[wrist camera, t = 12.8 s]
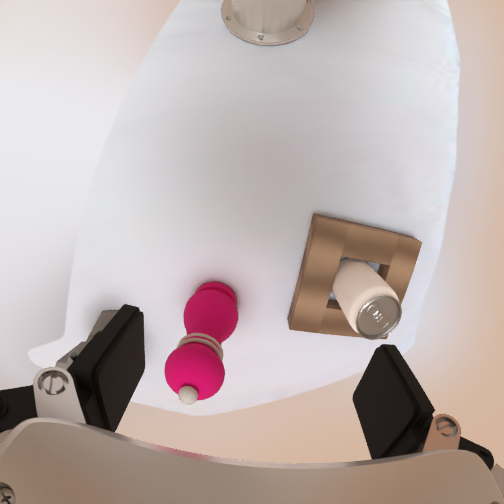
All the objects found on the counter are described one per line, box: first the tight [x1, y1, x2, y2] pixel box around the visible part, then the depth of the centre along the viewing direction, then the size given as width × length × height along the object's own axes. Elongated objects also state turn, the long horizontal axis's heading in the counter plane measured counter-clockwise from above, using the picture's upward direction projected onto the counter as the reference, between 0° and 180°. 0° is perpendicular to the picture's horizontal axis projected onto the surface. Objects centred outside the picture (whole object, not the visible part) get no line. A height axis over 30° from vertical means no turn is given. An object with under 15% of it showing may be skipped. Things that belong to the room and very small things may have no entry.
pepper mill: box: [165, 282, 238, 404], centre depth 31 cm, size 7×7×20 cm
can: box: [332, 258, 402, 340], centre depth 34 cm, size 6×6×12 cm
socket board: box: [288, 214, 422, 339], centre depth 38 cm, size 16×16×3 cm
